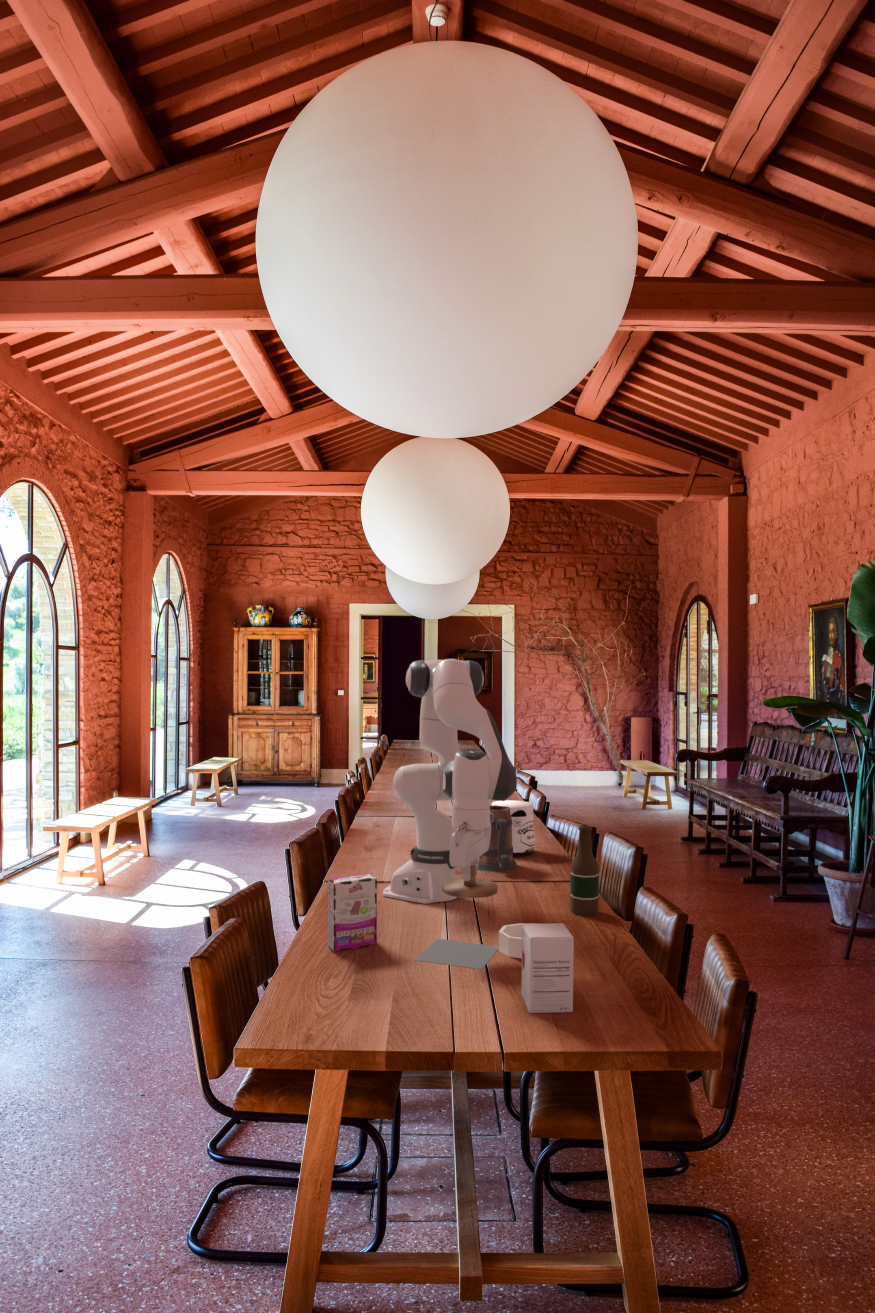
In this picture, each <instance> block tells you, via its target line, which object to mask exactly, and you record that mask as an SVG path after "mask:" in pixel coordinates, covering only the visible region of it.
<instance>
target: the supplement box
mask: <svg viewBox="0 0 875 1313" xmlns="http://www.w3.org/2000/svg"><path fill="white" fill-rule="evenodd" d="M574 939H575V938H574V936H573V934H571V932H570V930H569V929H568V928H567V926H566V925H565V924H564V923H562V922H558V923H557V922H556V923H554V922H553V923H531V922H529V923H524V924H522V959H521V996H522V999H523V1000H524V1001H523V1002H524V1003H525V1006H526V1009H527V1010H528V1013H529V1014H545V1013H546V1014H547V1013H549V1014H551V1013H556V1014H557V1013H573V1011H574V957H575V955H574V954H575V953H574V948H575V943H574Z"/></svg>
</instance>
